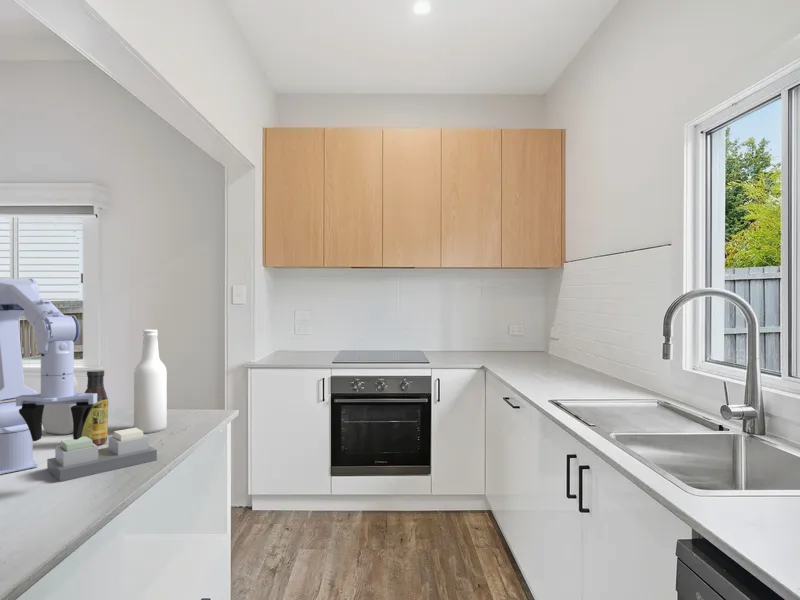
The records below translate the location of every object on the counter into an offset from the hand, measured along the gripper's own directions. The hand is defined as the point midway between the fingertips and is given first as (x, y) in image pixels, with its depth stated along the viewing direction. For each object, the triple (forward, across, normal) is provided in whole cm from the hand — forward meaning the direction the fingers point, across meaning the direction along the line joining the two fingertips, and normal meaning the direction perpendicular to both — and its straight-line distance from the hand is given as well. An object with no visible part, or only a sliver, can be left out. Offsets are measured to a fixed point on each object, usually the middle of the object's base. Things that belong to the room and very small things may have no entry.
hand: (57, 439), depth 105 cm
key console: (+10, +4, +14) cm, 17 cm away
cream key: (+5, +8, +17) cm, 20 cm away
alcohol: (+10, +5, +46) cm, 47 cm away
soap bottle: (+11, -20, +47) cm, 52 cm away
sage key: (+5, -1, +10) cm, 11 cm away
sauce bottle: (+10, -5, +33) cm, 35 cm away
